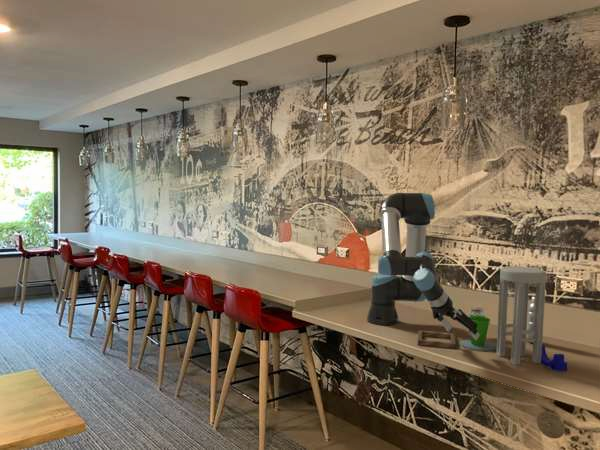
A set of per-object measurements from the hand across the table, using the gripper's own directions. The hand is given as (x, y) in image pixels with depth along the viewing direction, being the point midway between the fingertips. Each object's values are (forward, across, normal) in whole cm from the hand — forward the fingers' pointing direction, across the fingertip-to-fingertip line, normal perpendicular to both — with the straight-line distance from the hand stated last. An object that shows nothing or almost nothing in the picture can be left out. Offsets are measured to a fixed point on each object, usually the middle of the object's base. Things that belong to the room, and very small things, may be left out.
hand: (463, 333), depth 198 cm
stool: (+12, +18, +2) cm, 22 cm away
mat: (+12, 0, +2) cm, 12 cm away
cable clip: (+16, +28, +5) cm, 33 cm away
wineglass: (+20, -10, +10) cm, 25 cm away
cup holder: (+4, -13, -6) cm, 15 cm away
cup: (+12, 0, +2) cm, 12 cm away
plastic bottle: (+30, +9, +20) cm, 37 cm away
